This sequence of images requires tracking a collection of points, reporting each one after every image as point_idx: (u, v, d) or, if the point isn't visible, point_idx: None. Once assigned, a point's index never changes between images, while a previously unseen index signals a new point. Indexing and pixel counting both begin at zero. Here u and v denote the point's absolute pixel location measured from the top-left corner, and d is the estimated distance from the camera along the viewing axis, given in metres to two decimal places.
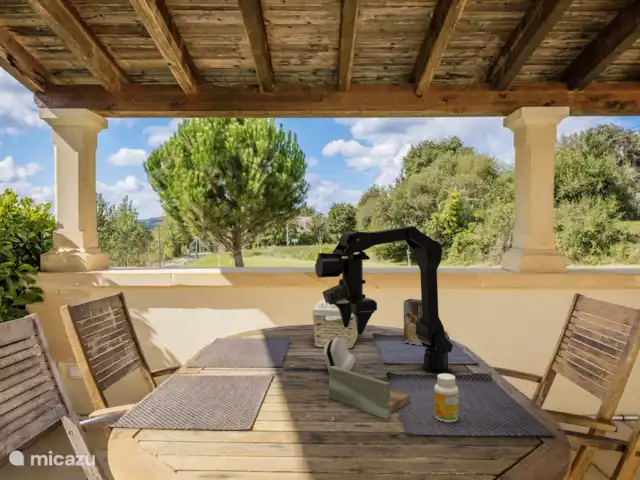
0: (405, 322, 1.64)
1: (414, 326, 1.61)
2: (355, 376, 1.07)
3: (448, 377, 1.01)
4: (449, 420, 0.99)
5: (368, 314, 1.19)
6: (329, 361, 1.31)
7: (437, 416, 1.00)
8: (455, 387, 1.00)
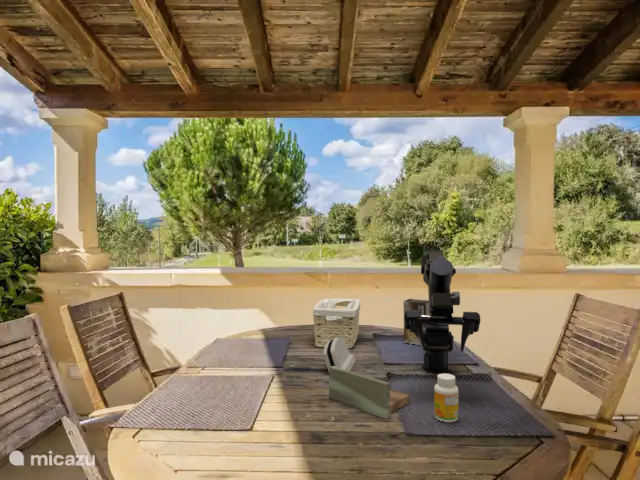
0: None
1: None
2: (355, 376, 1.07)
3: (448, 377, 1.01)
4: (449, 420, 0.99)
5: (467, 334, 1.13)
6: (329, 361, 1.31)
7: (437, 416, 1.00)
8: (455, 387, 1.00)
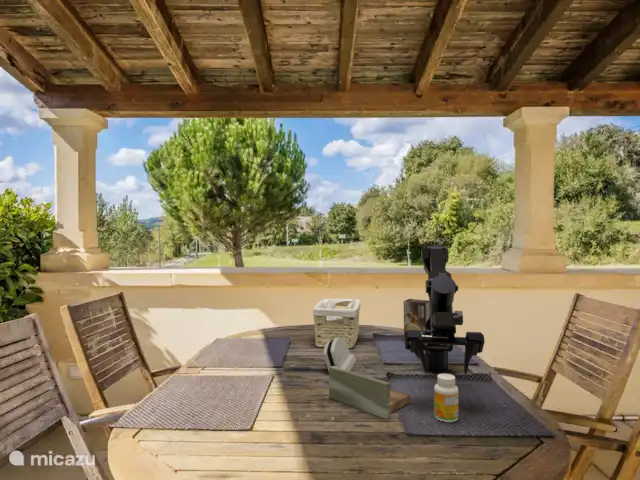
0: (405, 322, 1.64)
1: (414, 326, 1.61)
2: (355, 376, 1.07)
3: (448, 377, 1.01)
4: (449, 420, 0.99)
5: (471, 355, 1.08)
6: (329, 361, 1.31)
7: (437, 416, 1.00)
8: (455, 387, 1.00)
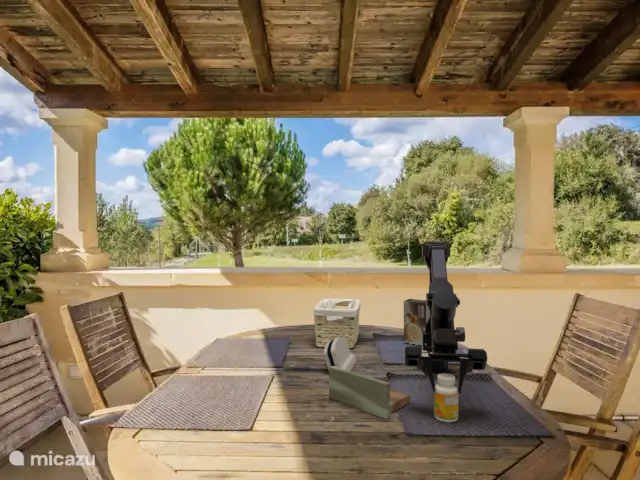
0: (405, 322, 1.64)
1: (414, 326, 1.61)
2: (355, 376, 1.07)
3: (448, 377, 1.01)
4: (449, 420, 0.99)
5: (465, 372, 1.04)
6: (329, 360, 1.31)
7: (437, 416, 1.00)
8: (455, 387, 1.00)
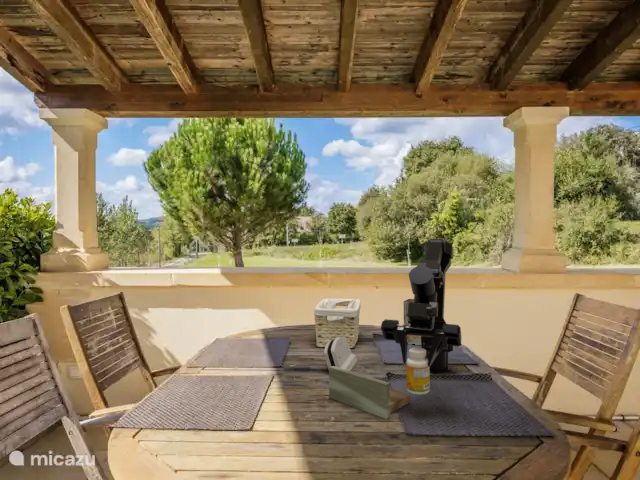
0: (405, 322, 1.64)
1: None
2: (355, 376, 1.07)
3: (419, 350, 1.03)
4: (418, 392, 1.01)
5: (440, 347, 1.05)
6: (329, 360, 1.31)
7: (407, 388, 1.03)
8: (425, 360, 1.02)
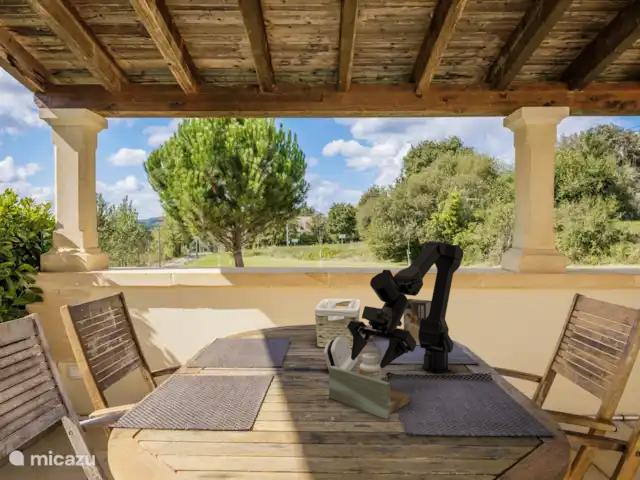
0: (405, 322, 1.64)
1: (414, 326, 1.61)
2: (355, 376, 1.07)
3: (369, 356, 1.10)
4: None
5: (400, 352, 1.09)
6: (329, 360, 1.32)
7: None
8: (374, 366, 1.09)
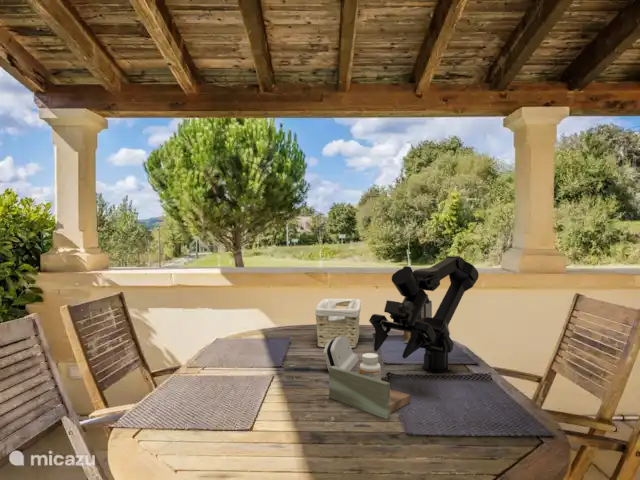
0: None
1: None
2: (355, 376, 1.07)
3: (370, 356, 1.10)
4: None
5: (420, 343, 1.16)
6: (329, 360, 1.32)
7: None
8: (374, 366, 1.09)
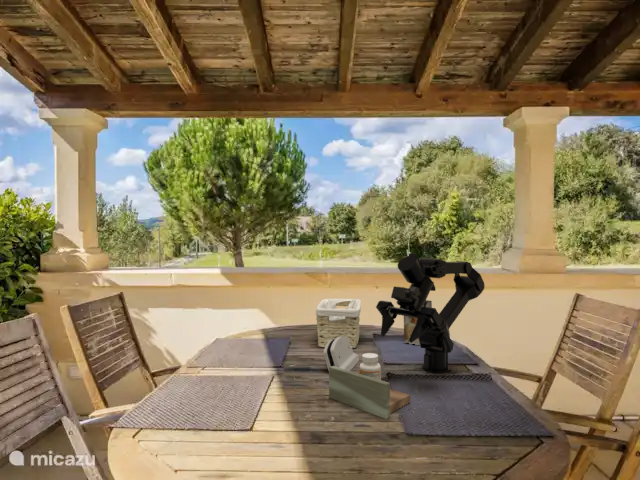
0: (405, 322, 1.64)
1: (414, 326, 1.61)
2: (355, 376, 1.07)
3: (370, 356, 1.10)
4: None
5: (427, 328, 1.19)
6: (329, 359, 1.32)
7: None
8: (374, 366, 1.09)
